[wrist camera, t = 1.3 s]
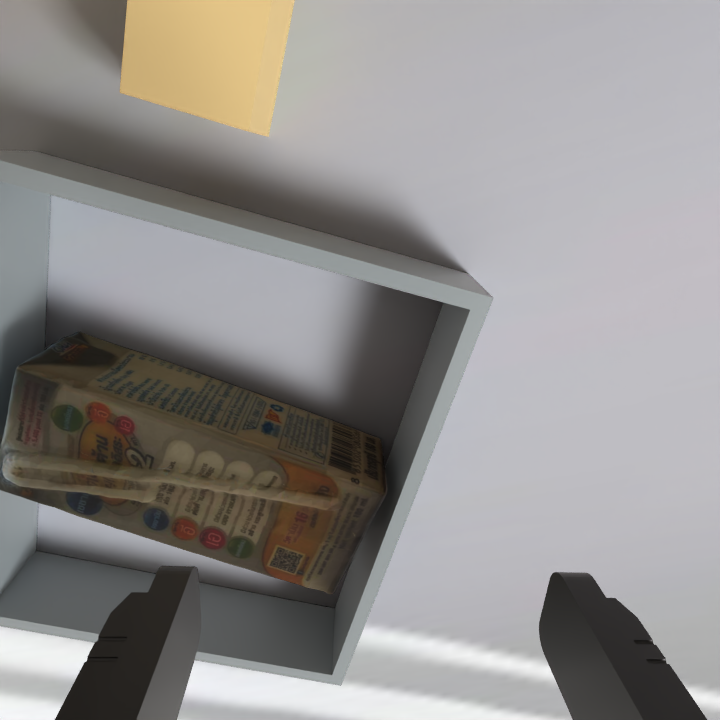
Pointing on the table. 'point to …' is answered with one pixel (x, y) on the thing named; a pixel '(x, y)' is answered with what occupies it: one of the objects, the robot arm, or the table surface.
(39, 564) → the tote tray
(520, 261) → the table surface
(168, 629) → the robot arm
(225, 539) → the beverage carton
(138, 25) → the yellow box
